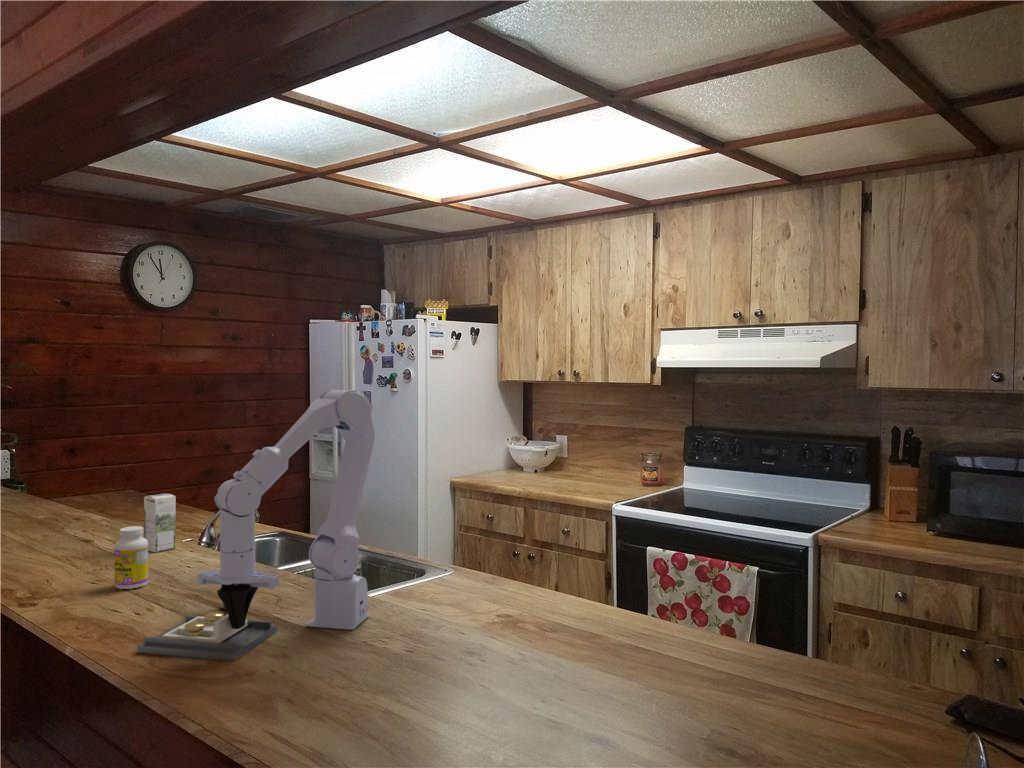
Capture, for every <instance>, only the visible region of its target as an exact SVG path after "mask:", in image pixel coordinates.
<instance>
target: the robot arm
mask: <svg viewBox="0 0 1024 768" xmlns="http://www.w3.org/2000/svg"><path fill="white" fill-rule="evenodd" d="M372 411H373V404H372V403H371V402H370V400H369V399H368V397H366V395H365V394H364V392H362V391H359V390H357V389H350V390H345V389H344V390H343V389H337V388H331V389H330V388H329V389H327V390H325V391H323V392H322V393H321V395H320V396H319V398H316V399H314V400H313V401H312V402H311V404H310V405H309V406H308V408H307V409H306V411H305V412H304V413H303V414H302V415H301V416H300V417H299V418H298V420H297V421H296V422H295V423H294V424H293V425H292V426H291V427H290V428H289V430H288V431H286V433H285V434H283V436H282V437H281V438H280V439H279V441H278V442H277V443H275V444H274V446H264V447H263V448H262V449H261V450H260V449H256V450H255V451H254V452H253V453H252V456H253V457H252V458H251V459H250V460H249V462H248V463H246V465H244V467H243V468H242V469H240V470H238V471H237V470H236V471H235V472H234V473H233V475H232V476H233V478H234V479H230V480H229V479H228V480H226V481H224V482H223V483H222V484H220V486H219V487H218V488H217V493H216V495H215V496H214V498H213V500H214V502H215V505H216V506H217V507H218V509H219V511H220V513H219V515H220V516H219V517H220V518H219V519H220V521H219V543H220V544H219V545H220V546H219V557H220V558H219V565H220V566H219V567H220V568H219V569H220V570H203V571H201V572H198V573H197V574H196V575H197V576H196V577H197V578H196V582H197V583H196V584H197V585H200V586H202V585H221V587H220V589H217V597H219V599H220V600H221V602H222V605H223V604H224V606H225V608H226V609H225V610H226V613H227V614H228V616H229V619H230V623H231V627H232V629H239V628H241V627H243V626H244V625H245V620H247V616H248V611H249V609H250V605H251V603H252V601H253V599H254V596H255V594H256V593H257V591H258V589H259V588H267V589H268V590H274V589H276V588H278V587H280V574H271V573H267V572H261V571H256V521H255V520H256V519H255V518H256V517H255V511H256V510H258V508H259V506H260V504H261V500H262V496H263V495H264V494H265V493H266V492H267V491H268V490H269V489H270V488H271V487H272V486H273V485H274V484H275V482H277V481H278V480H279V479H280V477H281V476H282V475H284V473H285V472H286V471H287V470H288V469H289V459H290V458H291V457H292V456H293V455H294V454H295V453H296V452H297V451H299V450H300V449H301V448H302V447H303V446H304V445H305V444H306V443H307V442H308V441H309V440H310V439H312V438H313V437H314V436H315V435H316V434H317V433H318V432H319V431H320V430H322V429H326V428H333V427H334V428H335V429H336V430H337V431H338V432H339V434H340V435H341V437H342V438H343V439H344V445H343V449H342V453H341V457H340V463H339V467H338V471H337V474H336V479H335V483H334V489H333V492H332V496H331V501H330V506H329V509H328V513H327V518H326V521H325V522H324V523H323V524H322V525H321V526H320V528H319V529H318V531H317V535H316V537H315V539H314V540H313V542H312V543H311V545H310V546H309V548H308V549H309V550H308V559H309V562H310V563H311V564H312V565H313V566H314V617H313V618H312V619H310V620H309V621H307V622H306V623H305V626H306V627H310V628H322V629H323V628H324V629H337V630H348V631H349V630H355V629H356V628H357V627H358V626H359V625H360V624H362V622H364V621H365V620H366V619H367V618H369V617H370V614H369V613H368V610H369V609H368V582H367V579H366V577H364V576H359V575H357V574H354V573H356V570H357V569H358V567H359V565H360V562H361V561H360V560H361V558H360V557H361V556H360V552H359V544H360V540H361V539H360V537H359V534H358V531H357V529H356V524H357V519H358V514H359V510H360V506H361V502H362V497H363V492H364V488H365V485H366V484H365V483H366V479H367V475H368V471H369V466H370V462H371V461H370V460H371V456H372V452H373V448H374V443H375V440H376V433H375V426H374V422H373V419H372Z"/></svg>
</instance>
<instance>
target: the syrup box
mask: <svg viewBox="0 0 1024 768" xmlns="http://www.w3.org/2000/svg"><path fill="white" fill-rule="evenodd" d="M176 498H177V497H176V495H174V494H171V493H160V494H154V495H153V494H152V495H145V496H143V504H144V505H143V511H144V512H143V522H144V523H143V524H144V525H143V526H144V527H143V538H145V539H146V540H147V541H148V552H151V553H152V552H153V553H159V552H165V551H170V550H175V549H176V504H177V503H176V502H177V501H176Z"/></svg>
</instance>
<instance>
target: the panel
mask: <svg viewBox="0 0 1024 768" xmlns="http://www.w3.org/2000/svg"><path fill="white" fill-rule="evenodd" d="M197 616H198V617H196V618H194V619H192V620H190V621H189V622H187V623H185V624H183V625H181V626H179V627H177V628H175V629H174V630H172V631H170V632H168V633H166V634H164V635H162V638H170V639H183V640H195V641H208V642H222V641H223V640H225V639H227V638H228V637H230V636H231V635H233V634H235V633H236V632H238V631H240V630H241V629H243V628H244V627H246V626H248V620H249V619H246V620H245V625H244V626H243V627H241V628H239V629H232V627H231V623H230V619H229V616H228V613H227V614H226V615H223V617H222V618H220V619H218V620H217V621H215V622H213V625H207V624H208V621H206V620H204V616H203V617H200V616H201V615H200V616H199V615H197ZM191 622H204V623H205V628H204V629H203V630H201V636H209V637H200V636H187V635H189V633H188V632H186V631H185V625H186V624H188V623H191ZM178 634H184V635H178Z"/></svg>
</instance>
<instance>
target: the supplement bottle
mask: <svg viewBox="0 0 1024 768" xmlns="http://www.w3.org/2000/svg"><path fill="white" fill-rule="evenodd" d="M143 535H144V527H143V526H140V525H138V526H137V525H136V526H127V527H122V528H120V529H119V537H120V539H119V540H117V541H116V542H115V544H114V587H115V589H117V588H118V589H117V590H122V589H130V590H132V589H131V588H137V589H139V588H138V587H141V588H142V586H143V587H145V586H147V584H148V583H149V551H148V541H147V540H146V539H145V538H144V537H143Z"/></svg>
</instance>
